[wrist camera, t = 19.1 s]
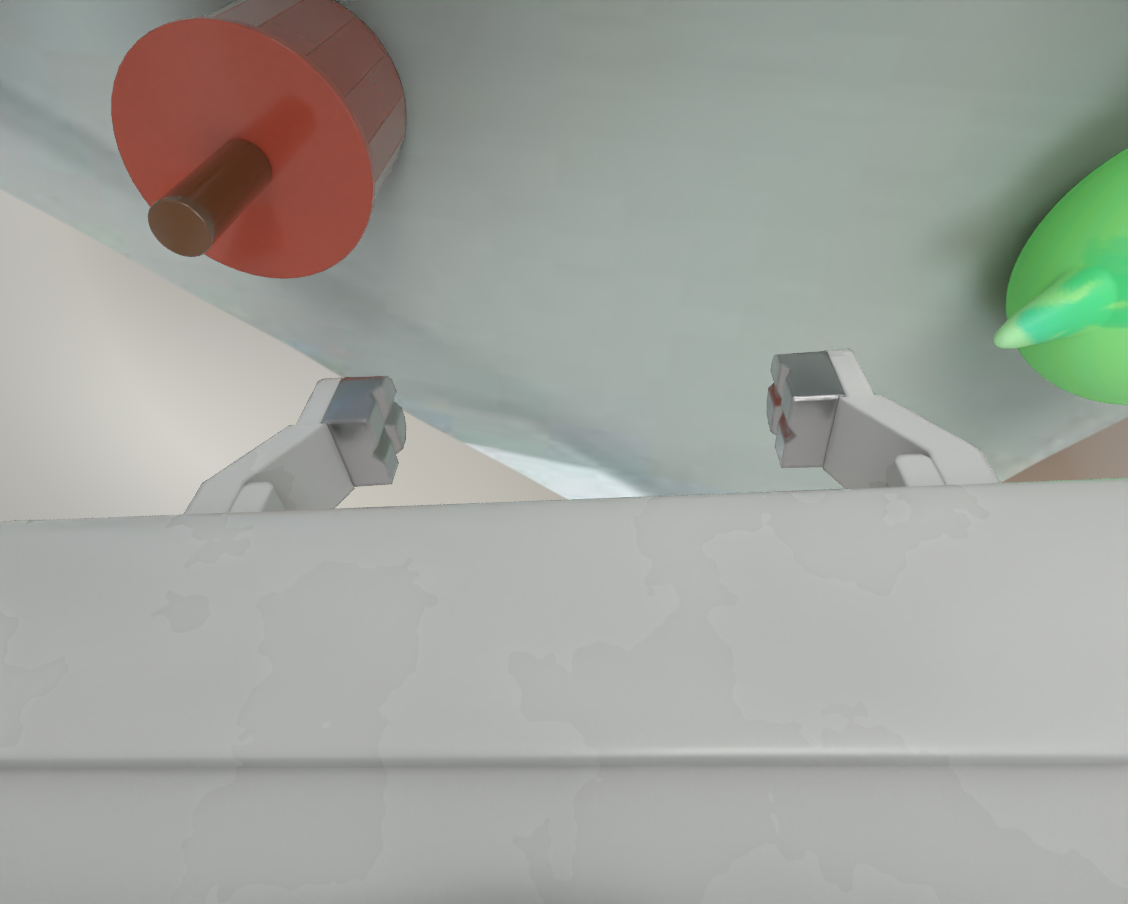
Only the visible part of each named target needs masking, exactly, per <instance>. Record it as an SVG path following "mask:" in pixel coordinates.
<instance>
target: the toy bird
mask: <svg viewBox="0 0 1128 904" xmlns="http://www.w3.org/2000/svg"><path fill="white" fill-rule="evenodd" d="M1006 316H1007V321H1006V322H1005V323H1004V324H1003V325H1002V326H1001V327H1000V329H999V330H998V331H997V333H996V334H995V336H994V340H993V342H994V345H995V346H996V347H998V348H1002V349H1011V348H1018V350H1019V352H1020V353H1021V355H1022V356H1023V357H1024V359H1025V360H1026V361H1027V362H1028V363H1029V365H1030V366H1031V367H1032V368H1033V369H1034V370H1035V371H1036V372H1038V373H1039V374H1040V375H1041V376H1042V377H1044V378H1045V379H1046V380H1048V381H1049V382H1051V383H1052V384H1054V385H1056V386H1057V387H1059V388H1061V389H1063V390H1065V391H1067V392H1070V393H1072V394H1075V395H1077V396H1080V397H1083V398H1086V399H1090V400H1094V401H1099V402H1104V403H1110V404H1119V405H1128V148H1127V149H1125V150H1123V151H1122V152H1120V153H1118V154H1117V155H1115V156H1114V157H1112V158H1111V159H1109V160H1108V161H1106V162H1105V163H1103V164H1102V165H1101V166H1099V167H1098V168H1097V169H1095V170H1094V171H1093V172H1091V173H1090V174H1089V175H1087V176H1086V177H1085V178H1084V179H1082V180H1081V181H1080V182H1079V183H1078V184H1077V185H1075V186H1074V187H1073V188H1072V189H1071V190H1070V191H1069V192H1068V193H1067V194H1066V195H1065V196H1064V197H1063V198H1062V199H1061V200H1060V201H1059V202H1058V203H1057V204H1056V205H1055V206H1054V207H1053V208H1052V209H1051V210H1050V212H1049V213H1048V214H1047V215H1046V216H1045V217H1044V219H1043V220H1042V221H1041V222H1040V224H1039V225H1038V226H1037V228H1036V229H1035V231H1034V232H1033V233H1032V235H1031V236H1030V238H1029V239H1028V241H1027V243H1026V244H1025V246H1024V248H1023V249H1022V251H1021V253H1020V255H1019V257H1018V259H1017V261H1016V263H1015V266H1014V268H1013V271H1012V274H1011V277H1010V280H1009V284H1008V289H1007V296H1006Z"/></svg>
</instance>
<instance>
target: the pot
mask: <svg viewBox="0 0 1128 904" xmlns="http://www.w3.org/2000/svg"><path fill="white" fill-rule="evenodd" d="M207 16H212V17H223V18H228V19H233V20H238V21H242V22H245V23H247V24H250V25H253V26H256V27H259V28H261V29H263V30H265V31H267V32H269V33H271V34H273V35H275V36H277V37H279V38H281V39H282V40H284V41H285V42H287V43H289V44H290V45H292V46H293V47H295V48H296V49H298V50H299V51H300V52H301V53H303V54H304V55H305V56H306V57H308V58H309V59H310V60H311V61H313V62H314V63H315V64H316V65H317V66H318V67H319V68H320V69H321V70H322V71H323V72H324V73H325V74H326V75H327V76H328V77H329V78H330V80H331V81H332V82H333V83H334V84H335V86H336V87H337V88H338V89H339V91H340V92H341V93H342V95H343V96H344V98H345V99H346V101H347V102H348V104H349V105H350V107H351V108H352V110H353V112H354V113H355V115H356V117H357V119H358V121H359V123H360V125H361V127H362V129H363V132H364V134H365V137H366V140H367V142H368V145H369V149H370V152H371V156H372V160H373V166H374V173H375V196H376V195H377V193H378V191H379V190H380V188H381V186H382V185H383V183H384V181H385V180H386V178H387V176H388V175H389V173H390V171H391V170H392V168H393V166H394V164H395V161H396V158H397V156H398V154H399V151H400V149H401V146H402V143H403V140H404V137H405V128H406V106H405V98H404V93H403V89H402V85H401V82H400V79H399V76H398V73H397V71H396V69H395V67H394V64H393V62H392V60H391V58H390V56H389V55H388V53H387V52H386V50H385V48H384V47H383V45H382V44H381V42H380V41H379V40H378V38H377V37H376V36H375V35H374V33H373V32H372V31H371V30H370V29H369V28H368V27H367V26H366V25H365V24H364V23H363V22H362V21H361V20H360V19H359V18H358V17H357V16H355V15H354V14H353V13H352V12H351V11H349V10H348V9H346V8H345V7H343V6H342V5H340V4H339V3H337V2H335V1H333V0H238V1H236V2H234V3H232V4H230V5H228V6H226V7H224V8H221V9H219V10H217V11H215V12H213V13H211V14H209V15H207Z"/></svg>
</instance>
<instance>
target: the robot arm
mask: <svg viewBox="0 0 1128 904" xmlns="http://www.w3.org/2000/svg"><path fill="white" fill-rule="evenodd" d="M771 374H772V377H773V381H774V383H773V384H772V385H771V386H770V387H769V388H768V395H767V418H768V424H769V428H770V431H771V432H772V433H773V434H775V435H776V441H775V449H776V452H777V455H778V459H779V462H780V465H781V468H801V467H823V469H824V470H825V471H826V472H827V473H828V474H829V475H831V476H832V477H833V478H834V479H835V480H836V481H837V482H838V483H840V484H841V485H842V486H843V487H844V488H845V489H829V490H803V491H777V492H752V493H726V494H701V495H675V496H650V497H624V498H598V499H572V500H549V501H548V500H547V501H521V502H496V503H470V504H446V505H445V504H443V505H419V506H392V507H367V508H341V509H335V508H336V506H338V505H339V504H340V503H341V502H342V501H343V500H344V499H345V498H346V497H347V496H348V495H349V494H350V492H352V491H353V490H354V487H357V486H371V485H386V484H392V482H393V479H394V475H395V472H396V469H397V466H398V460H397V457H396V454H397V453H398V452H399V451H401V450H402V449H403V447H404V443H405V440H406V422H405V416H404V413H403V410H402V407H400V406H399V405H398V404H397V403H395V402H394V401H393V400H394V397H395V394H396V389H395V386H394V384H393V381H392V379H391V378H390V377H388V376H374V377H346V378H327V379H321V380H319V381H318V382H317V384H316V386H315V388H314V390H313V392H312V394H311V396H310V398H309V400H308V402H307V404H306V406H305V408H304V410H303V412H302V414H301V416H300V418H299V420H298V422H297V424H296V425H289V426H287V427H286V428H284V429H283V430H282V431H280V432H278V433H277V434H275V435H274V436H272V437H271V438H269V439H268V440H266V441H265V442H263V443H262V444H260V445H259V446H257V447H256V448H255V449H253V450H251V451H250V452H248V453H247V454H245V455H244V456H242V457H241V458H239V459H238V460H236V461H235V462H233V463H232V464H230V465H229V466H227V467H226V468H224V469H223V470H221V471H220V472H218V473H217V474H215V475H214V476H212V477H211V478H209V479H208V480H206V481H205V482H203V483H202V484H201V486H200V488H199V490H198V491H197V493H196V494H195V496H194V498H193V499H192V501H191V503H190V504H189V506H188V508H187V509H186V511H185V512H184V514H183V515H160V516H137V517H135V516H134V517H109V518H83V519H60V520H58V519H57V520H14V521H5V522H0V904H1128V478H1114V479H1090V480H1066V481H1042V482H1016V483H1015V482H1014V483H1001V482H1000V481H999V479H998V477H997V476H996V474H995V472H994V471H993V469H992V468H991V466H990V464H989V463H988V461H987V459H986V458H985V456H984V455H983V453H982V451H981V450H980V449H978V448H976V447H974V446H972V445H971V444H969V443H967V442H965V441H964V440H962V439H960V438H958V437H956V436H955V435H953V434H951V433H949V432H947V431H946V430H944V429H942V428H940V427H938V426H937V425H935V424H933V423H931V422H929V421H928V420H926V419H924V418H922V417H921V416H919V415H917V414H915V413H913V412H912V411H910V410H908V409H906V408H904V407H903V406H901V405H899V404H897V403H895V402H894V401H892V400H890V399H888V398H887V397H885V396H883V395H875V394H874V392H873V390H872V388H871V386H870V384H869V382H868V380H867V378H866V376H865V374H864V372H863V370H862V368H861V366H860V364H859V362H858V360H857V358H856V356H855V354H854V352H853V351H852V350H851V349H837V350H826V351H820V352H806V353H791V354H777V355H774V357H773V360H772V365H771Z"/></svg>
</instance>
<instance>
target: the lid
mask: <svg viewBox="0 0 1128 904" xmlns="http://www.w3.org/2000/svg"><path fill="white" fill-rule="evenodd" d="M111 115H112V123H113V130H114V135H115V139H116V142H117V146H118V150H119V152H120V155H121V157H122V160H123V162H124V165H125V167H126V169H127V171H128V173H129V175H130V177H131V179H132V181H133V183H134V184H135V186H136V187H137V189H138V190H139V192H140V193H141V195H142V197H143V198H144V199H145V201H146V202H147V203H148V204H149V206H150V209H149V213H148V222H149V226H150V228H151V231H152V232H153V234H154V236H155V237H156V238H157V240H158V241H159V242H160V243H161V244H162V245H164V246H165V247H166V248H168V249H169V250H171V251H172V252H174V253H177V254H179V255H182V256H187V257H195V256H200V255H203V254H205V255H206V256H208V257H210V258H212V259H214V260H216V261H218V262H220V263H222V264H224V265H226V266H229V267H231V268H234V269H236V270H239V271H242V272H246V273H249V274H253V275H257V276H263V277H269V278H299V277H304V276H309V275H313V274H316V273H319V272H322V271H324V270H326V269H328V268H330V267H332V266H334V265H336V264H337V263H338V262H340V261H341V260H342V259H344V258H345V257H346V256H347V255H348V254H349V253H350V252H351V251H352V250H353V249H354V248H355V246H356V245H357V243H358V242H359V240H360V239H361V237H362V236H363V234H364V232H365V230H366V228H367V225H368V223H369V221H370V218H371V214H372V211H373V206H374V199H375V173H374V166H373V160H372V156H371V152H370V149H369V145H368V142H367V140H366V137H365V134H364V132H363V129H362V127H361V125H360V123H359V121H358V119H357V117H356V115H355V113H354V112H353V110H352V108H351V107H350V105H349V104H348V102H347V101H346V99H345V98H344V96H343V95H342V93H341V92H340V91H339V89H338V88H337V87H336V86H335V84H334V83H333V82H332V81H331V80H330V78H329V77H328V76H327V75H326V74H325V73H324V72H323V71H322V70H321V69H320V68H319V67H318V66H317V65H316V64H315V63H314V62H313V61H311V60H310V59H309V58H308V57H306V56H305V55H304V54H303V53H301V52H300V51H299V50H298V49H296V48H295V47H293V46H292V45H290V44H289V43H287V42H285V41H284V40H282V39H281V38H279V37H277V36H275V35H273V34H271V33H269V32H267V31H265V30H263V29H261V28H259V27H256V26H253V25H250V24H247V23H245V22H242V21H238V20H233V19H228V18H223V17H212V16H197V17H187V18H182V19H178V20H175V21H171V22H168V23H166V24H164V25H162V26H160V27H158V28H156V29H154V30H152V31H150V32H148V33H147V34H146V35H144V36H143V37H142V38H140V39H139V40H138V41H137V42H136V43H135V44H134V45H133V46H132V48H131V49H130V50H129V51H128V52H127V54H126V55H125V57H124V59H123V61H122V62H121V64H120V66H119V69H118V72H117V75H116V77H115V80H114V86H113V92H112V101H111Z"/></svg>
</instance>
